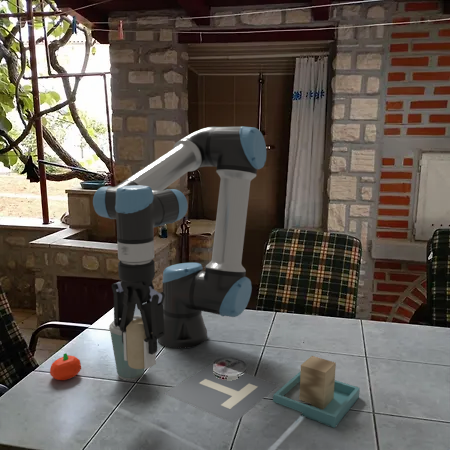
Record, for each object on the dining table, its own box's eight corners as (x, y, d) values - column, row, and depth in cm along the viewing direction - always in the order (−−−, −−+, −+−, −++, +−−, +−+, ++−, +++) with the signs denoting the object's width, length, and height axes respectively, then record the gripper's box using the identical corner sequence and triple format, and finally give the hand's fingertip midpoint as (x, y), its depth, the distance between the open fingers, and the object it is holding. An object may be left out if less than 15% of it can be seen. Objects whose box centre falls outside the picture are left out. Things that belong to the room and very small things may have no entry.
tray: (273, 404, 108) (273, 394, 107) (301, 378, 120) (302, 369, 119) (334, 428, 99) (335, 417, 99) (359, 397, 111) (359, 387, 111)
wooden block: (299, 401, 109) (300, 365, 107) (310, 390, 113) (312, 355, 112) (323, 409, 105) (325, 372, 104) (333, 398, 110) (335, 362, 108)
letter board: (163, 396, 110) (163, 393, 110) (214, 364, 126) (214, 361, 126) (233, 426, 99) (233, 423, 99) (279, 387, 115) (279, 384, 115)
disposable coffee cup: (101, 380, 118) (99, 323, 115) (124, 361, 127) (123, 309, 125) (138, 388, 114) (137, 330, 111) (159, 368, 124) (159, 314, 121)
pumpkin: (44, 384, 116) (40, 359, 116) (67, 370, 124) (63, 346, 123) (67, 386, 113) (63, 361, 113) (88, 372, 121) (85, 348, 120)
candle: (148, 370, 99) (146, 326, 97) (123, 368, 100) (121, 324, 98) (156, 358, 105) (155, 316, 103) (133, 356, 106) (132, 314, 104)
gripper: (92, 256, 100) (98, 357, 105) (156, 272, 90) (159, 382, 94) (119, 249, 106) (123, 344, 111) (181, 263, 96) (183, 367, 100)
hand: (139, 361), depth 102 cm, fingers closed on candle, 5 cm apart
